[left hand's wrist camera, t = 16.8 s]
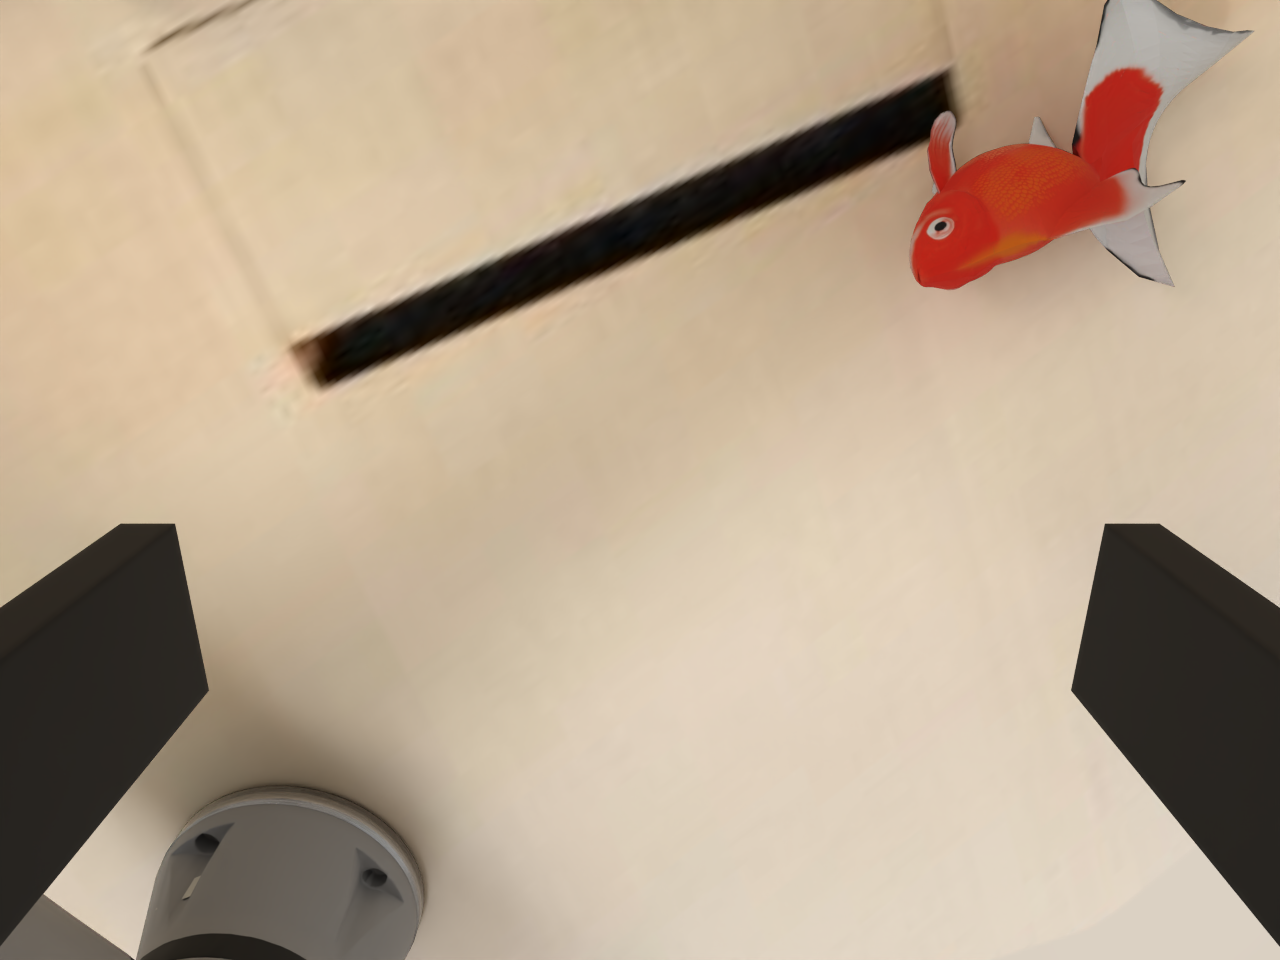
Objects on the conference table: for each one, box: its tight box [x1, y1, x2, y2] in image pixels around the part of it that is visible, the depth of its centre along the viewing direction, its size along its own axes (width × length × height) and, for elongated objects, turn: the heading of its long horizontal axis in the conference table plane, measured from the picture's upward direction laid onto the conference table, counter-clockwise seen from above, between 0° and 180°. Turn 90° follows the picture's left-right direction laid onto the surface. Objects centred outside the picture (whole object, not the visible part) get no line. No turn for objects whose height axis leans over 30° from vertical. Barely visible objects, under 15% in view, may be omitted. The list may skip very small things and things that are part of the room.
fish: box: [910, 0, 1254, 290], centre depth 34 cm, size 11×16×10 cm
